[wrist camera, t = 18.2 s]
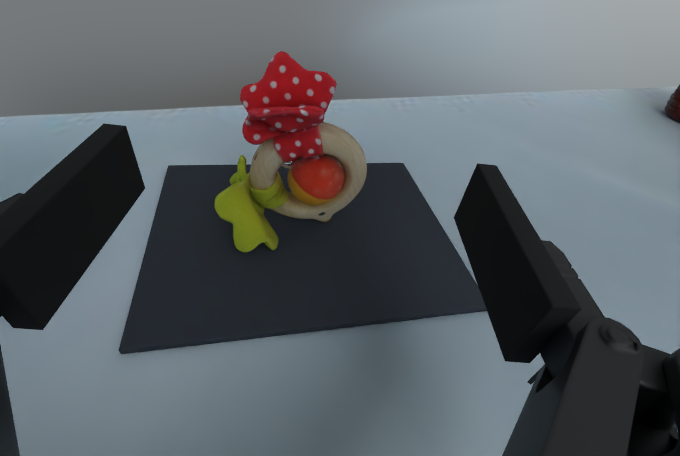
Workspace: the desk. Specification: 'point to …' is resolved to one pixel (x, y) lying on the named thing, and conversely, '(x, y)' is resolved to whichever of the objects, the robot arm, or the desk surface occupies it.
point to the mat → (292, 265)
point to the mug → (674, 105)
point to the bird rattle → (290, 155)
